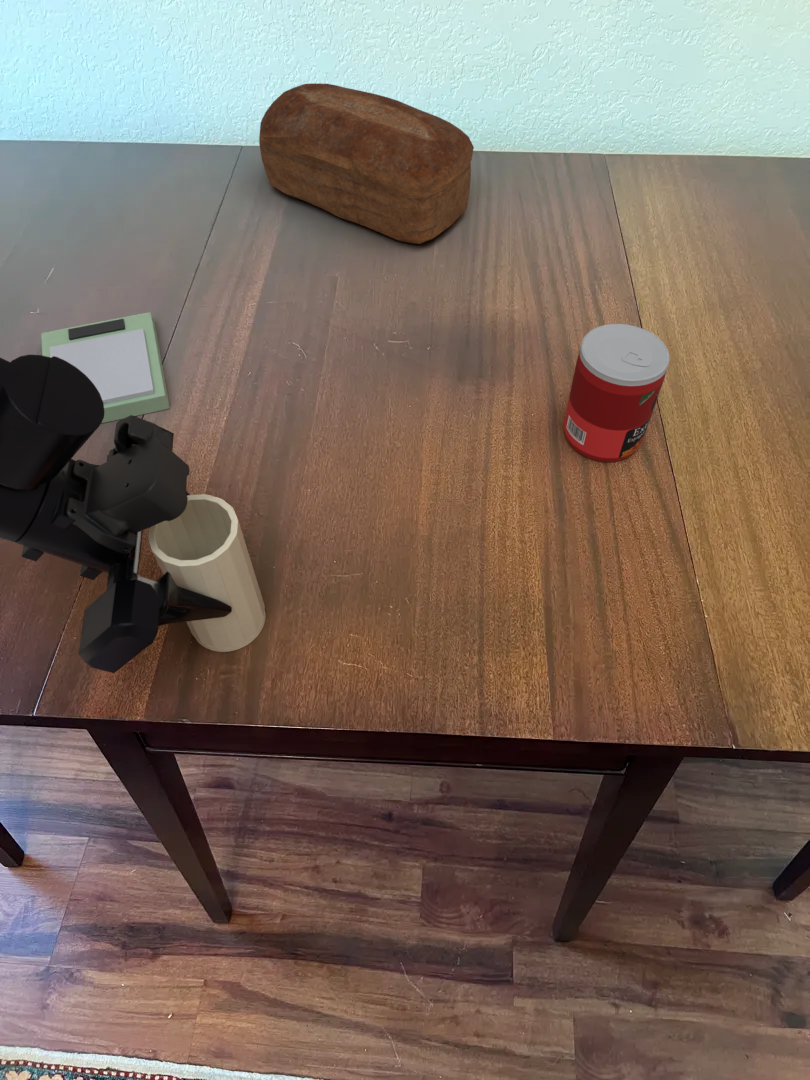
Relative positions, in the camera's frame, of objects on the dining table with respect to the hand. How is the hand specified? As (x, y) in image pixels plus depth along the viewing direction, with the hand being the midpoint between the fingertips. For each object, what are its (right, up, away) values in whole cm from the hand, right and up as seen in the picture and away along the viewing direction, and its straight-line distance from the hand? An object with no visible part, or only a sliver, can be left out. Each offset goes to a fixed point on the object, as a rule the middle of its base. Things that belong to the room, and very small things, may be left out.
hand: (229, 575), depth 61 cm
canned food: (+34, +13, +17) cm, 40 cm away
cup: (-1, -4, +5) cm, 7 cm away
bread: (+9, +48, +42) cm, 64 cm away
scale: (-19, +20, +23) cm, 36 cm away
